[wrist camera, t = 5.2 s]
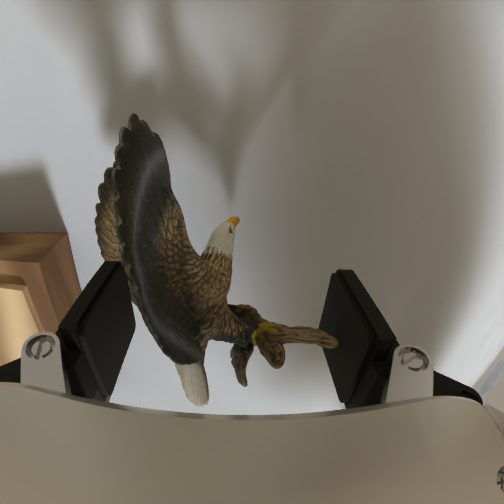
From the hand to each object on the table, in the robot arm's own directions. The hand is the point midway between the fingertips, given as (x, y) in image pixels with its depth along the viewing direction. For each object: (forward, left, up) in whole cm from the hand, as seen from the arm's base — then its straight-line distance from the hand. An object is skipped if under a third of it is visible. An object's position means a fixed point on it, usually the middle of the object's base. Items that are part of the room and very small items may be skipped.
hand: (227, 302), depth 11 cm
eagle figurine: (+1, -1, -3) cm, 3 cm away
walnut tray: (+17, +7, -6) cm, 19 cm away
